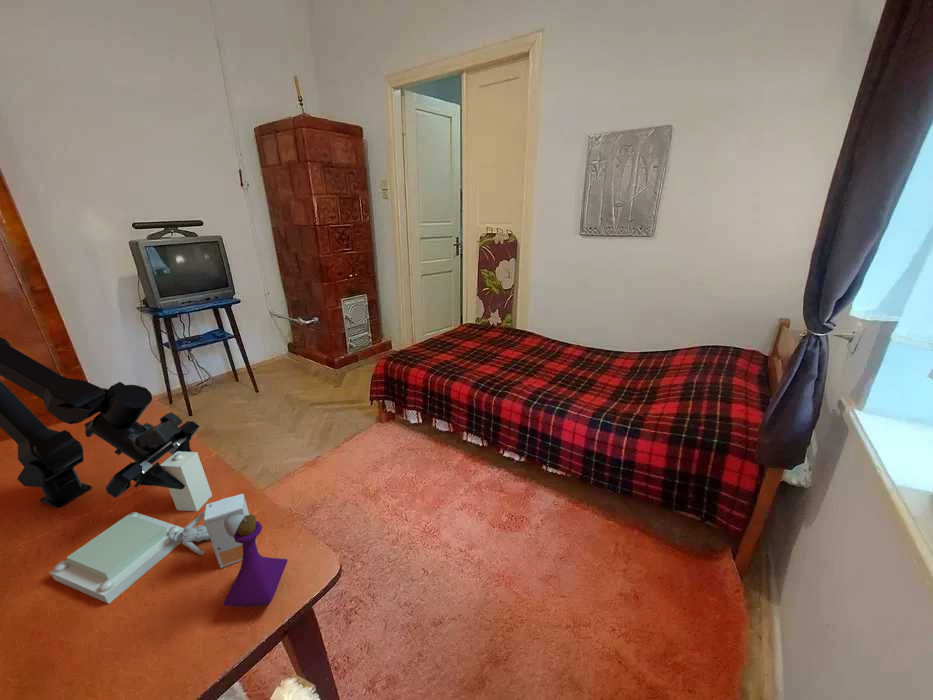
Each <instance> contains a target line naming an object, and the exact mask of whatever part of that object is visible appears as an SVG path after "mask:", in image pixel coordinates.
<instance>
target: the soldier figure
mask: <svg viewBox="0 0 933 700" xmlns="http://www.w3.org/2000/svg"><path fill="white" fill-rule="evenodd" d="M204 515H205V510H204V511H202V512H201V513H200V514H199V515H198V516H197V517H195V518H194V520H193V521H191V522H190V523H188V524H187V525H186V526H184V527H183V528H184V530H183V532H182V533H179V534H180V538H179V539H181V540H182V542H181V543H182V545H184V546H185V547H186V548H188V549H189V550H191V551H192V552H194V553H196V554H198V555H201V556H204V554H205V551H203V550H200V548H199V547H198V546H197V545H196V544H194V542H196V543H197V542H200V543H201V541H209V540H210V537H209V534H208V531H207V528H206V525H203V524H198V523H199V522H200V521H201V520H202V519H203V517H204ZM197 524H198V525H197ZM196 525H197V526H196ZM178 536H179V535H178V532H177V533H176V532H175V530H174V531H172V532H171V533H170V534H169V543H173V544H174V542H175V541H176V540H177V539H178Z"/></svg>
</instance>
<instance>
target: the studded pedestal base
mask: <svg viewBox="0 0 933 700" xmlns="http://www.w3.org/2000/svg"><path fill="white" fill-rule="evenodd" d="M184 528H185V527H183V526H182V527H181V526H179V525H176V524H172V523H170V522H166V521H164V520H160V519H157V518H154V517H151V516H149V515H145V514H142V513H139V512H137V511H133V512H130V513H129V514H127V515H125V516H124V517H123V518H121V519H119V520H118V521H117V522H116V523H114V524H112V525H111V526H110V527H108V528H106V530H103V532H101V533H99V534H98V535H97V536H95V537H94V538H92V539H91V540H89V541H88V542H87V543H85V544H84V545H82V546H81V547H79V548H78V549H76V550H75V551H74V552H72V553H71V554H69V555H68V556H66V559H67V560H62V561H60V562H58V563H57V564H55V565H54V567H53V569H52V570H51V571H49V573H50V576H52V577H51V578H53V580H54V581H56V582H58V583H61V584H62V585H65V586H68V587H70V588H71V589H74V590H76V591H78V592H81V593H84V594H85V595H87V596H90V597H92V598H94V599H97V600H99V601H101V602H104V603H106V604H108V605H109V604H110V603H112V602H113V601H114V600H115V599H117V598H118V596H120V595H121V594H122V593H124V592H125V591H126V590H127V589H128V588H130V586H132V585H133V584H134V583H135V582H136V581H137V580H139V579H140V578H141V577H142V576H144V575H145V574H146V573H147V572H148V571H149V570H151V569H152V568H153V567H154V566H155V565H156V564H158V563H159V562H160V561H161V560H162V559H163V558H165V557H166V556H167V555H169V553H170V552H172V551H173V550H174V549H175V548H176V547H178V546H179V545H180V544H181V543H182V540H181V539H179V538H180V534H179V533H182V532H183V530H184ZM174 530H175V532H176V533H177V532H178V535H179V536H178V539H177V540H176V541H175V542H174V544H173V543H169V534H170V533H171V532H172V531H174Z"/></svg>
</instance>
